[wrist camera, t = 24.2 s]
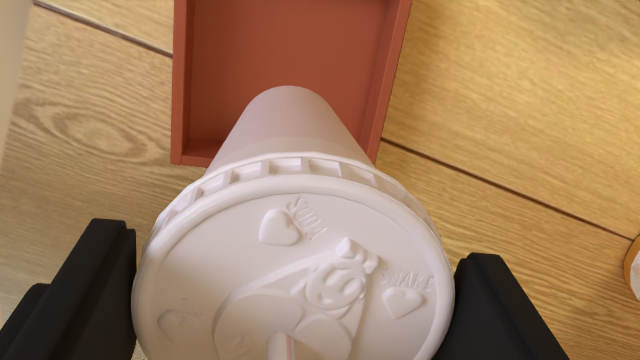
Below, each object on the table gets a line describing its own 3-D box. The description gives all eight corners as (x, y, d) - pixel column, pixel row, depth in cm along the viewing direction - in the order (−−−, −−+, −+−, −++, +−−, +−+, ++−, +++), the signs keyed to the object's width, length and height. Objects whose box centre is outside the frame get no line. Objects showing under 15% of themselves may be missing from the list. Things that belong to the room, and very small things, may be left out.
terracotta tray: (180, 141, 29) (170, 164, 27) (186, -64, 24) (175, -63, 22) (361, 162, 31) (370, 185, 28) (403, -28, 26) (417, -23, 23)
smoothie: (167, 152, 18) (-80, 648, 6) (266, 6, 16) (219, 280, 4) (306, 235, 20) (350, 727, 8) (410, 115, 18) (695, 527, 6)
